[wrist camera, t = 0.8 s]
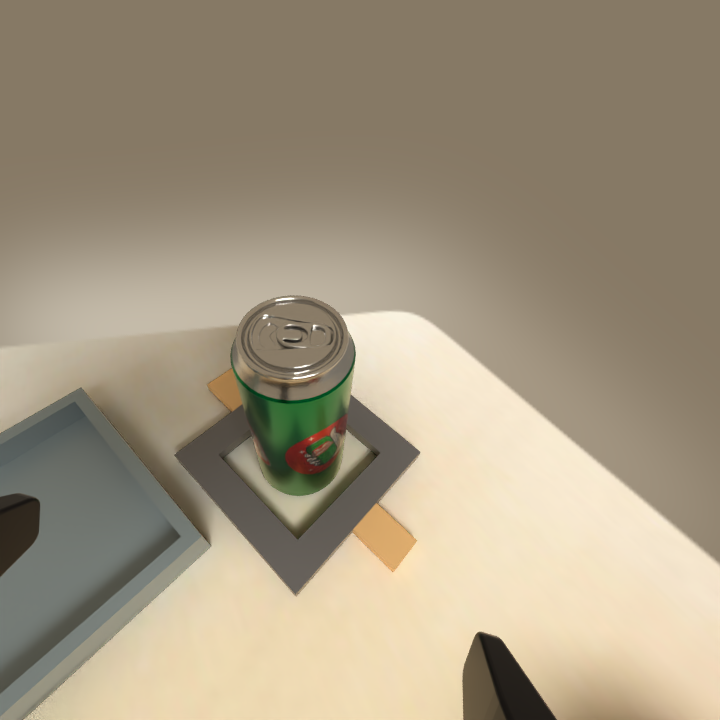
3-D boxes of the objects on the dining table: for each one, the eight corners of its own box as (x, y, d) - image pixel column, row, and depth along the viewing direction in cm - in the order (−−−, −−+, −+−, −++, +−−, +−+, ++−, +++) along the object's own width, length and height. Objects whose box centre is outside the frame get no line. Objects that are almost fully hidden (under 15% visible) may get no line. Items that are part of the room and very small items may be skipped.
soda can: (266, 421, 26) (238, 284, 16) (342, 424, 26) (357, 292, 17) (254, 498, 23) (211, 384, 13) (340, 500, 23) (358, 390, 14)
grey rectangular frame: (338, 645, 19) (338, 644, 18) (151, 429, 25) (146, 423, 24) (455, 489, 24) (459, 484, 24) (279, 341, 30) (278, 334, 29)
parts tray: (-69, 804, 15) (-120, 823, 13) (-156, 558, 19) (-203, 549, 17) (211, 546, 21) (201, 536, 19) (96, 406, 25) (80, 387, 24)
